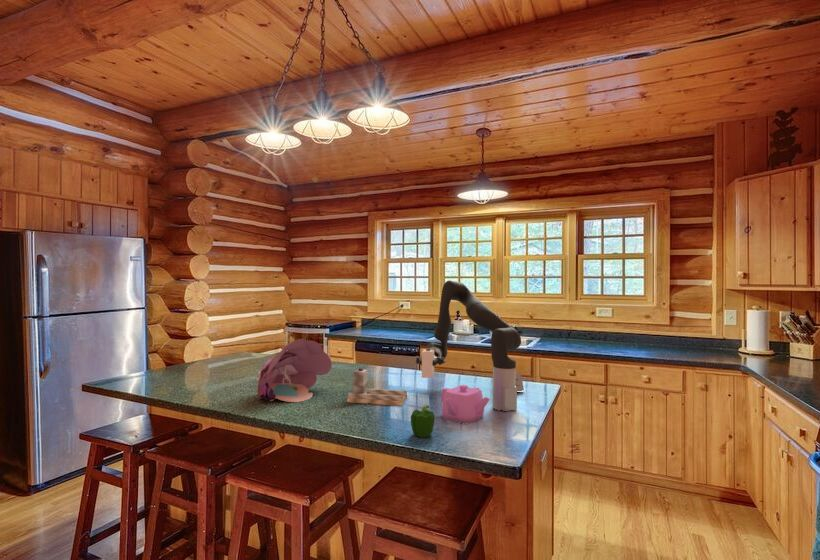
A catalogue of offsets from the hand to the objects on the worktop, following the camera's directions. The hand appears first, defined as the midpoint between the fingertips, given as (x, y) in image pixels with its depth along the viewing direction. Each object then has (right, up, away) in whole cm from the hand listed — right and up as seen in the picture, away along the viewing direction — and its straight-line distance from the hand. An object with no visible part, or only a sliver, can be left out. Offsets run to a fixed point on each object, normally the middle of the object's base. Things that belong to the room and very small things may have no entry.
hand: (427, 363), depth 182 cm
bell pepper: (-3, -18, -36) cm, 40 cm away
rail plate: (-21, -17, +7) cm, 28 cm away
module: (0, -6, +3) cm, 7 cm away
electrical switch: (+42, -19, +23) cm, 51 cm away
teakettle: (+13, -18, -16) cm, 28 cm away
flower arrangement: (-61, -17, +11) cm, 64 cm away
